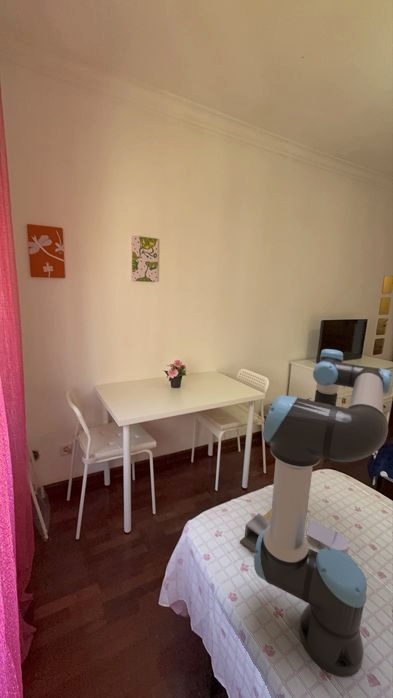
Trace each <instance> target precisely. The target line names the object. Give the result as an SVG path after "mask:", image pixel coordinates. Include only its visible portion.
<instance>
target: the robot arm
mask: <svg viewBox="0 0 393 698" xmlns="http://www.w3.org/2000/svg"><path fill="white" fill-rule="evenodd" d="M312 376H313V380H314V381H315V382H316V386H315V389H316V390H315V394H314V399H312V398H311V397H308V398H305V399H304V398H300V397H298V396H291V395H290V396H289V395H285V394H284V395H283V394H281V395H279V396H277V397H276V398H275V399H274V401H273V402H272V404H271V405H270V408H269V410H268V413H267V415H266V419H265V422H264V426H263V431H262V439H263V440H264V441H266V442H267V443H270V447H269V449H270V453H271V455H272V456H273V457H274V458H275V463H274V473H273V474H274V475H273V476H274V477H273V487H272V500H271V508H270V510H271V521H270V525H269V526H268V527H267V528H266V529H265V530H262V531H261V533H260V535H259V537H258V539H257V543H256V548H255V549H256V551H255V554H254V556H253V567H254V571H255V573H256V575H257V577H259V578H260V579H262V580H264V581H265V582H266V583H267V584H268V585H272V586H274V587H275V588H277V589H280V590H282V591H283V592H285V593H288V594H290V595H291V596H293V597H295V598H297V599H300V600H301V601H304V603H307V606H306V608H304V610H303V611H302V614H301V616H300V618H299V619H300V621H299V625H298V627H299V629H298V632H299V638H300V641H301V644H302V646H303V647H304V650H305V651H306V653H307V655H308V656H309V657H310V658H311V660H312V661H313V662H315V664H316V665H317V666H318V667H320V668H321V669H322V670H324V671H326V672H328V673H329V674H331V675H334V676H338V677H349V676H352V675H354V674H356V673H357V672H359V670H360V668H361V666H362V662H363V658H364V643H363V638H362V635H361V630H360V628H361V621H362V619H363V618H362V617H363V611H364V606H365V604H367V603H366V602H367V597H368V596H367V590H368V583H367V579H366V575H365V574H364V572H363V570H362V568H360V566H359V564H358V563H357V562H356V561H355V560H354V559H353V558H352V557H351V556H349V555H348V553H347V554H345V553H343V552H341V551H339V550H337V549H333V548H329V549H327V548H324V549H322V548H321V549H320V550H319V551H316V550H313V549H312V548H310V546H309V540H308V539H307V537H306V535H305V530H306V522H307V515H308V508H309V499H310V490H311V484H312V478H313V477H312V474H313V467H314V466H317V465H318V464H319V463H320V462H321V459H322V458H323V459H327V460H331V461H334V462H337V463H338V462H340V463H348V462H349V463H350V462H351V463H352V462H356V461H359V460H364V459H365V458H368V457H370V456H371V455H373V454H374V453H376V452H377V451H378V450H379V449H380V448H382V446H383V445H384V443H385V442H386V440H387V437H388V433H389V423H388V420H387V417H386V415H385V414H384V412H383V411H384V405H383V404H384V394H387V393H389V392H390V391H389V390H390V387H391V382H392V372H391V371H390V370H388V369H385V368H380V367H371V366H366V365H361V364H360V365H359V364H352V363H346V362H345V363H344V353H343V352H342V351H341V350H337V349H330V348H325V349H322V350H321V352H320V356H319V362H318V363H317V364H315V366H314V367H313V371H312ZM339 386H340V387H341V386H342V387H347V388H352V391H351V397H350V399H349V400H350V401H349V404H348V407H343V406H337V401H338V392H339Z"/></svg>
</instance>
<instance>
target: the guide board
mask: <svg viewBox="0 0 393 698" xmlns="http://www.w3.org/2000/svg"><path fill="white" fill-rule="evenodd" d="M269 525H270V520H268V519H267V518H265V517H264V515H262V514H260V513H257V514H255V516H254V517H253V518H251V519H250V520H249V521H248V522H247V523H246V524H245V527H244V528H245V529H244V537H242V538H241V539H240V540H239V544H240V545H242V546H244V547H245V548H246V549H248V550H249V551H251V552H252V553H253V554H254V555H255V551H256V549H255V548H256V543H257V539H258V537H259V535H260V533H261V531H262V530H265V529H266V528H267V527H268V526H269Z"/></svg>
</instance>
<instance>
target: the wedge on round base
mask: <svg viewBox="0 0 393 698" xmlns="http://www.w3.org/2000/svg"><path fill="white" fill-rule="evenodd" d="M305 534H306V535H307V536H309V537H310V538H312V539H314V540H316V541H318V542H319V547H320V548H321V550H322V549H324V548H327V549H329V548H333V549H337V550H339V551H341V552H343V553H345V554H347V555H348V549H349V545H350V544H349V542H348V539H347V538H346V536H344V535H343V534H342V533H340V532H339V531H337V530H335V529H333V528H331V527H329V526H326V525H325V524H323V523H321V522H319V521H317V520H315V519H312V518H311V520H310V523H309V525H308V528H307V531H306V533H305Z"/></svg>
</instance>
